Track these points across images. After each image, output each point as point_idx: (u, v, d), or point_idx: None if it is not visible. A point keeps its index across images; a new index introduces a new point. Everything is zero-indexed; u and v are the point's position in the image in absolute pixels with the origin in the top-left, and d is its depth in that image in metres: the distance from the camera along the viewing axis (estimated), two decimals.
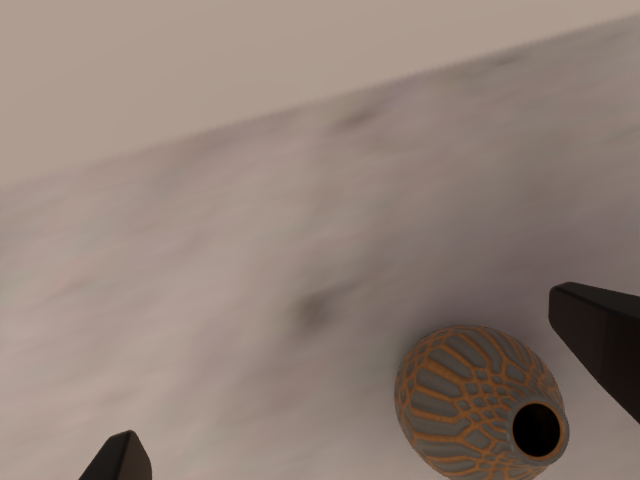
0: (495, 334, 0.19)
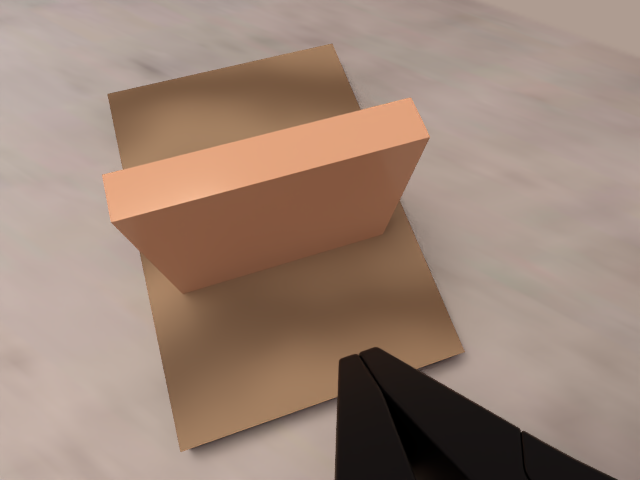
0: None
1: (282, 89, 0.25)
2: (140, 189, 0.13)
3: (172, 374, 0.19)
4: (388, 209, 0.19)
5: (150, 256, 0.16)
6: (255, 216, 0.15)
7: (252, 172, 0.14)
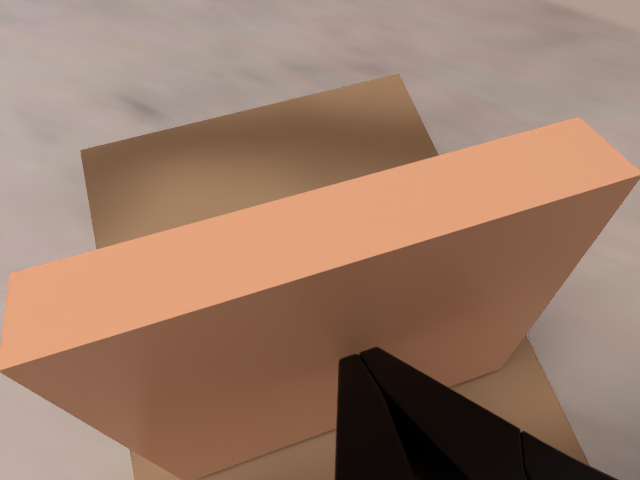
0: None
1: (332, 141, 0.17)
2: (75, 298, 0.06)
3: None
4: (524, 325, 0.11)
5: (111, 431, 0.08)
6: (307, 345, 0.08)
7: (302, 254, 0.07)
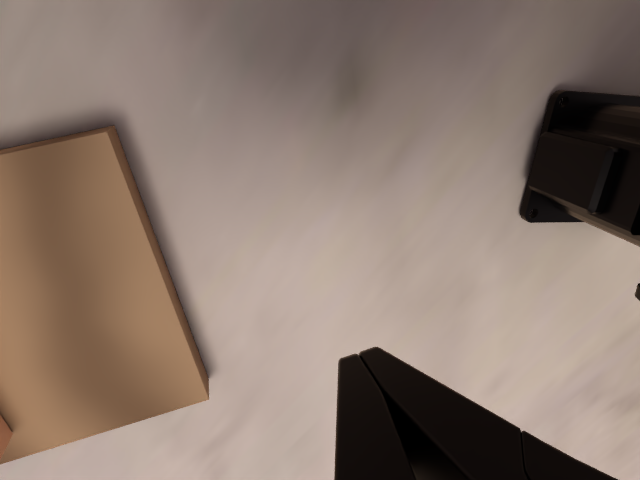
0: None
1: None
2: None
3: (140, 414, 0.21)
4: None
5: None
6: None
7: None
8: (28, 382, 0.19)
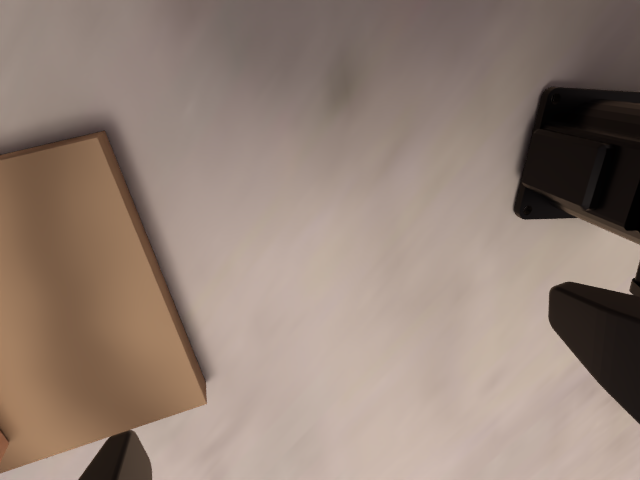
0: None
1: None
2: None
3: (138, 421, 0.21)
4: None
5: None
6: None
7: None
8: (23, 391, 0.19)
